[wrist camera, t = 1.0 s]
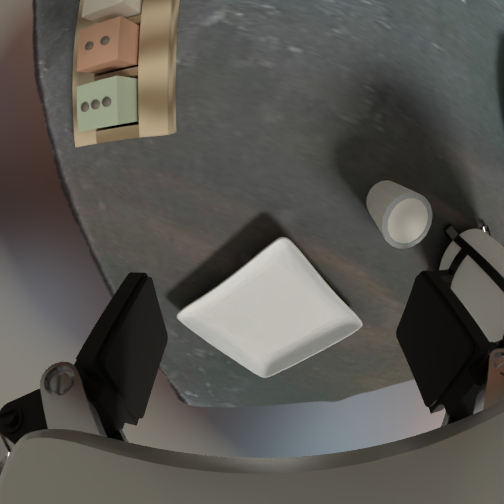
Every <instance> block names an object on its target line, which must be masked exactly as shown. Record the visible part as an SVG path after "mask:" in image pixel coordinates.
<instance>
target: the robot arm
mask: <svg viewBox="0 0 504 504" xmlns="http://www.w3.org/2000/svg"><path fill="white" fill-rule="evenodd" d="M396 336H397V339H398V341H399V343H400V346H401V348H402V350H403V352H404V355H405V357H406V359H407V361H408V364H409V366H410V368H411V371H412V373H413V376H414V378H415V381H416V383H417V386H418V388H419V390H420V393H421V396H422V398H423V400H424V404H425V405H426V406H427V407H429V409H430V412H431V413H434V412H437V411H440V410H442V409H443V408H444V407H445V409H446V414H445V417H444V420H443V423H442V426H441V427H440V428H437V429H435V430H432V431H429V432H426V433H423V434H420V435H416V436H413V437H410V438H406V439H402V440H399V441H395V442H391V443H387V444H383V445H378V446H374V447H369V448H364V449H358V450H352V451H347V452H340V453H333V454H325V455H316V456H304V457H288V458H233V457H217V456H207V455H197V454H189V453H182V452H175V451H169V450H163V449H157V448H151V447H147V446H142V445H137V444H133V443H129V442H128V441H127V439H126V437H125V435H124V433H123V431H122V429H123V426H124V423H128V424H133V425H137V423H138V419H139V418H143V416H144V414H145V410H146V407H147V403H148V400H149V397H150V394H151V390H152V387H153V384H154V380H155V377H156V374H157V371H158V368H159V365H160V362H161V359H162V356H163V353H164V350H165V347H166V344H167V339H168V336H167V331H166V328H165V324H164V321H163V317H162V314H161V310H160V307H159V303H158V299H157V296H156V292H155V288H154V284H153V280H152V278H151V277H148V276H147V274H146V273H132V272H131V273H129V274H128V275H127V277H126V278H125V280H124V281H123V283H122V284H121V286H120V287H119V289H118V290H117V292H116V293H115V295H114V296H113V298H112V299H111V301H110V302H109V304H108V306H107V307H106V309H105V310H104V312H103V313H102V315H101V317H100V318H99V320H98V322H97V323H96V325H95V327H94V328H93V330H92V332H91V333H90V335H89V337H88V338H87V340H86V342H85V343H84V345H83V347H82V349H81V350H80V352H79V354H78V356H77V358H76V359H77V361H76V362H75V364H74V365H73V364H71V363H69V362H59V363H55V364H53V365H51V366H50V367H49V368H48V369H47V370H46V371H45V372H44V374H43V375H42V378H41V381H40V389H38V390H35V391H33V392H31V393H29V394H27V395H25V396H22V397H20V398H18V399H16V400H14V401H11V402H9V403H7V404H6V405H4V406H3V408H2V409H1V410H0V504H504V349H495V350H493V351H492V352H491V354H490V355H489V354H488V350H489V349H490V347H491V346H492V345H491V343H490V342H489V340H488V339H487V337H486V336H485V334H484V333H483V331H482V330H481V328H480V327H479V326H478V324H477V323H476V321H475V320H474V318H473V317H472V316H471V314H470V313H469V312H468V310H467V309H466V308H465V306H464V305H463V304H462V302H461V301H460V300H459V298H458V297H457V296H456V295H455V293H454V292H453V291H452V289H451V288H450V287H449V286H448V284H447V283H446V282H445V281H444V280H443V278H442V277H441V276H440V275H439V274H438V272H436V271H422V272H421V273H420V274H419V275H418V276H417V277H416V279H415V282H414V285H413V288H412V291H411V294H410V296H409V299H408V302H407V305H406V307H405V310H404V313H403V315H402V318H401V320H400V323H399V325H398V328H397V331H396Z"/></svg>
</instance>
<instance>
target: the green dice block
mask: <svg viewBox="0 0 504 504" xmlns="http://www.w3.org/2000/svg"><path fill="white" fill-rule="evenodd" d="M77 121H78V132H83V131H88V130H92V129H98V128H103V127H108V126H114V125H120V124H125V123H131V122H137V121H138V79H136V78H130V77H123V76H113V77H109V78H105V79H102V80H98V81H94V82H91V83H87V84H84V85H81V86H78V87H77Z"/></svg>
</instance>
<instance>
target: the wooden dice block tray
mask: <svg viewBox="0 0 504 504" xmlns="http://www.w3.org/2000/svg"><path fill="white" fill-rule="evenodd" d="M83 5H84V0H80V5H79V11H78V18H77V25H76V33H75V43H74V57H73V88H72V91H73V123H74V137H75V147H80V146H85V145H91V144H96V143H102V142H109V141H116V140H123V139H131V138H139V137H149V136H159V135H169V134H172V133H176V48H177V27H178V12H179V0H143V4H142V14H141V15H137V16H133V17H129V18H126V19H127V20H129V21H131V22H133V23H135V24H137V25H138V26H140V38H139V59H138V67H133V68H128V69H124V70H120V71H115V72H111V73H108V74H107V72H105V73H101V74H98V73H88V72H77V57H78V44H79V33H80V30H82V29H84V28H87V27H89V26H92V25H95V24H98V23H97V22H94V21H91V20H88V19H86V18H83V17H82V11H83ZM113 76H123V77H130V78H136V79H138V115H139V124H136V125H129V126H122V127H116V128H110V129H108V127H103V128H98V129H92V130H88V131H83V132H78V121H77V87H78V86H81V85H84V84H87V83H91V82H94V81H98V80H102V79H105V78H109V77H113Z"/></svg>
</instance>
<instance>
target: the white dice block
mask: <svg viewBox="0 0 504 504" xmlns="http://www.w3.org/2000/svg"><path fill="white" fill-rule="evenodd" d="M142 2H143V0H84V5H83V11H82V17H83V18H86V19H88V20H91V21H94V22H97V23H100V22H103V21H106V20H109V19H113V18H116V17H119V16H122V17H124V18H128V17H132V16H136V15H140V14H141V11H142Z"/></svg>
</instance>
